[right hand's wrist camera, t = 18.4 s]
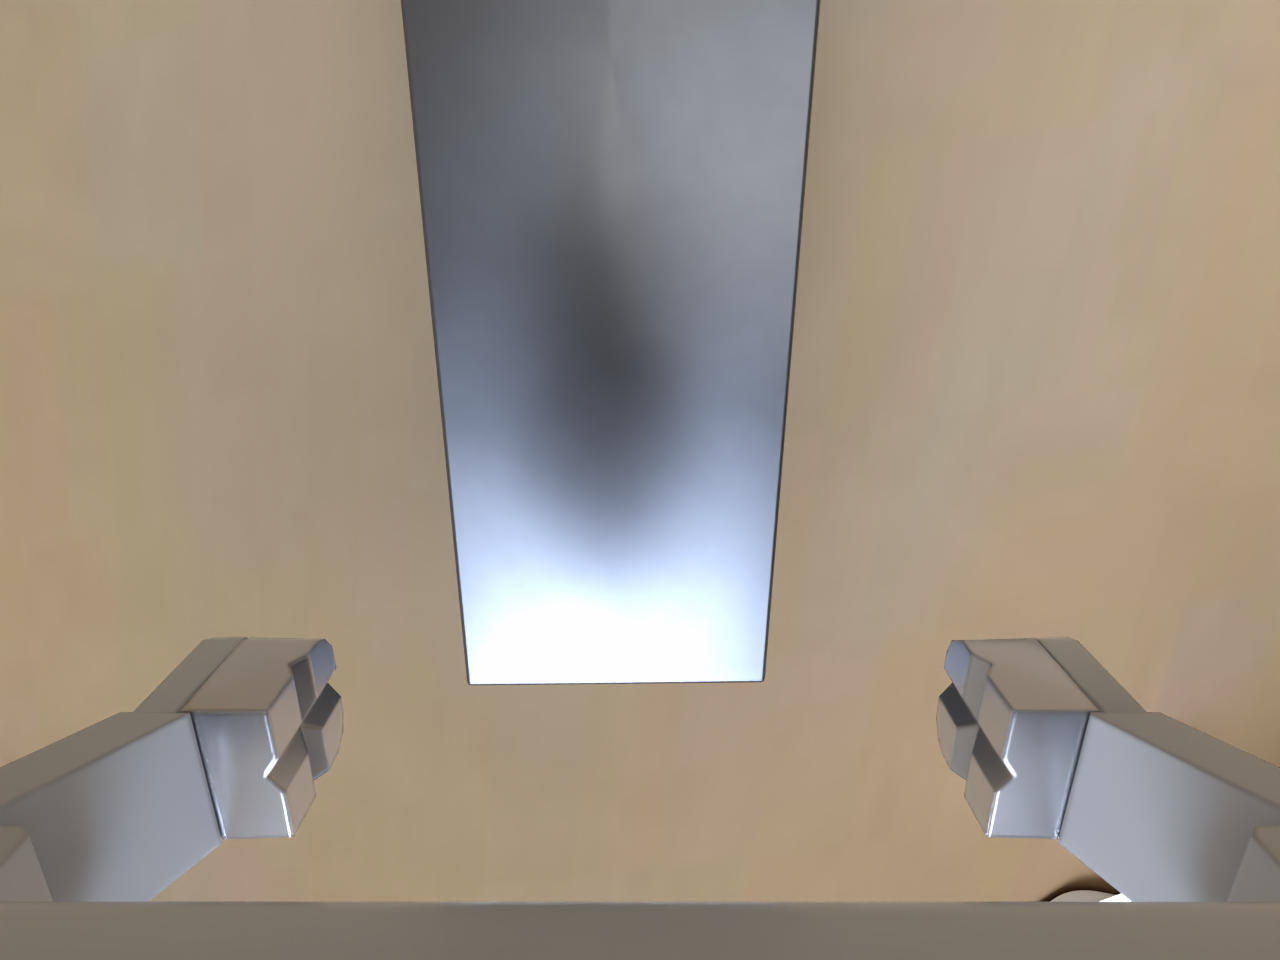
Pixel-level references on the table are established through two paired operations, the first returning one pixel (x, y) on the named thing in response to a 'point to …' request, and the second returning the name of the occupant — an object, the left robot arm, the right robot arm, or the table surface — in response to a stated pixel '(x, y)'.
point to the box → (613, 322)
